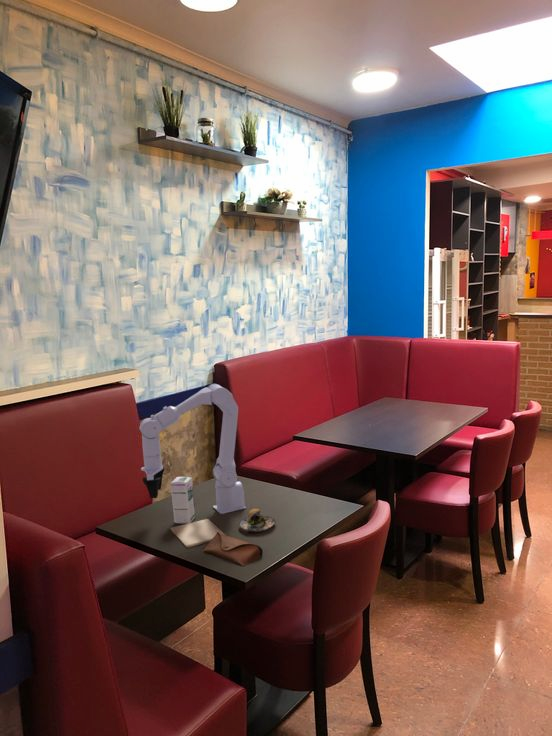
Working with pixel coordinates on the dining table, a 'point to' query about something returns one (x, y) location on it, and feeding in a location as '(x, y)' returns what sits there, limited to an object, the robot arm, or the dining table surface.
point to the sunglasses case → (233, 549)
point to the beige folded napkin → (196, 532)
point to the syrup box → (183, 500)
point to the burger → (255, 522)
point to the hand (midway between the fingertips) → (155, 493)
